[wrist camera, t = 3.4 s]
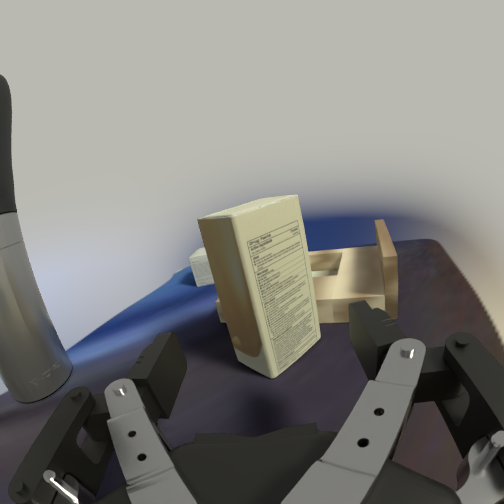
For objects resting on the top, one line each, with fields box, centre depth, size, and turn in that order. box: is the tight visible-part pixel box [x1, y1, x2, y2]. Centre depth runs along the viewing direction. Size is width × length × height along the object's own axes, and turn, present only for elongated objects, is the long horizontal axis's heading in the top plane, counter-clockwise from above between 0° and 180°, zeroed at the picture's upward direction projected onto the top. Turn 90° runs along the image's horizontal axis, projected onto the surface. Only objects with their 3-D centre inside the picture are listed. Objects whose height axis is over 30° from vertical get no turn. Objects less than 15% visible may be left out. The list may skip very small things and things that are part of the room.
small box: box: [189, 248, 215, 287], centre depth 44 cm, size 6×6×5 cm
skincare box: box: [197, 195, 321, 378], centre depth 20 cm, size 6×4×12 cm
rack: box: [215, 220, 398, 323], centre depth 31 cm, size 18×15×6 cm
